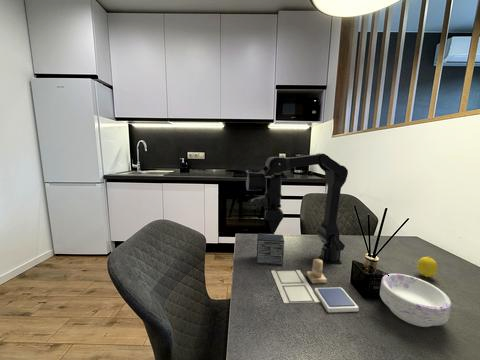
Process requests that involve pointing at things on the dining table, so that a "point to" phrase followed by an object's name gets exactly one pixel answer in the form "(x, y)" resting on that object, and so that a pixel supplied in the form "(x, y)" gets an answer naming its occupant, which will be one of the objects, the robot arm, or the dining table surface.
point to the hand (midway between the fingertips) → (271, 229)
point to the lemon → (427, 266)
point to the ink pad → (336, 300)
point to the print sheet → (294, 287)
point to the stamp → (317, 273)
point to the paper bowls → (415, 300)
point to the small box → (270, 249)
